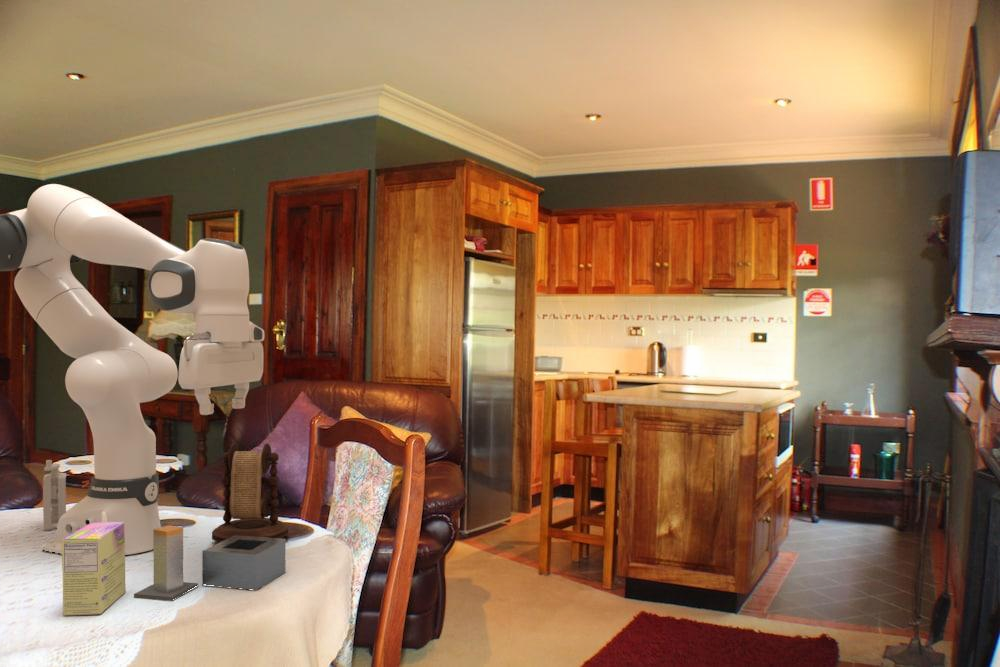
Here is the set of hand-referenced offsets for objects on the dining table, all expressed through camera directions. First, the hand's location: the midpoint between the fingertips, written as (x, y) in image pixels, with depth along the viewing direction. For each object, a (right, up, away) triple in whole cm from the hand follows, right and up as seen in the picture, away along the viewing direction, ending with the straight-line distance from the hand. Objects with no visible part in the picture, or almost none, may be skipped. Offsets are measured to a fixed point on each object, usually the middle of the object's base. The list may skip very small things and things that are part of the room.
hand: (223, 411), depth 141 cm
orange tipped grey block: (-6, -29, -8) cm, 30 cm away
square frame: (+4, -29, -1) cm, 29 cm away
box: (-16, -29, -13) cm, 36 cm away
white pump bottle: (-48, -29, +35) cm, 66 cm away
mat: (-7, -29, -8) cm, 31 cm away
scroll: (-2, -29, +23) cm, 37 cm away
